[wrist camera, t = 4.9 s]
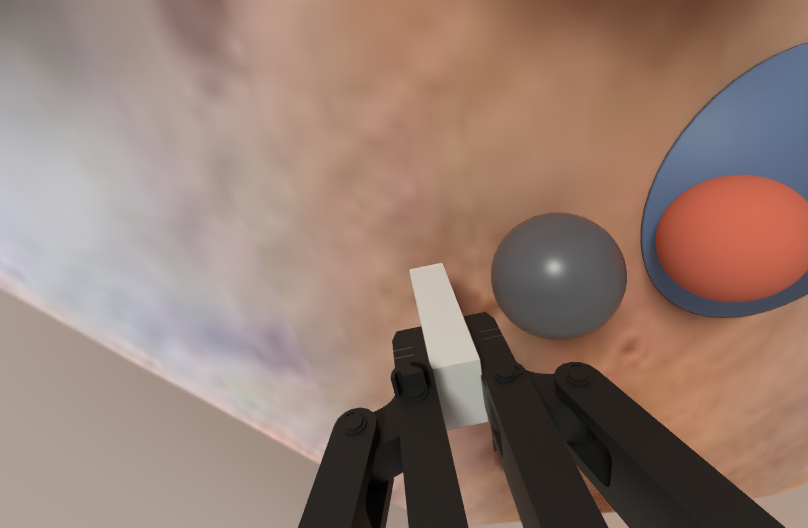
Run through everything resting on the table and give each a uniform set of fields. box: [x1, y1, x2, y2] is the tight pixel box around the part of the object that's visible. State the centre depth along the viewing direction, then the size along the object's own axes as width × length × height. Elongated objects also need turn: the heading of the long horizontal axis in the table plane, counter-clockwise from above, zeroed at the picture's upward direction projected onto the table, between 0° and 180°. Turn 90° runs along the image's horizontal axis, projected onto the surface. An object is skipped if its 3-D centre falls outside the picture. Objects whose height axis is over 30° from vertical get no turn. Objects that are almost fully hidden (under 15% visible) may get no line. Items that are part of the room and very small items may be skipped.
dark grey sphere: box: [491, 213, 627, 340], centre depth 18 cm, size 6×6×6 cm
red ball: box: [655, 175, 808, 302], centre depth 18 cm, size 6×6×6 cm
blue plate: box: [641, 43, 808, 318], centre depth 20 cm, size 14×14×1 cm
